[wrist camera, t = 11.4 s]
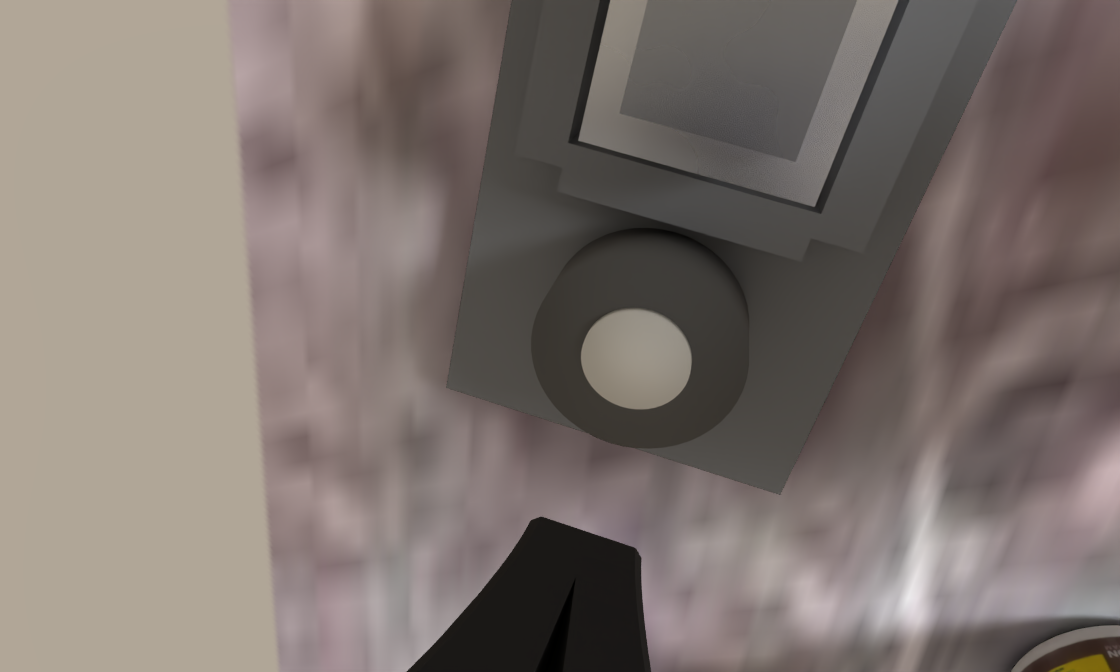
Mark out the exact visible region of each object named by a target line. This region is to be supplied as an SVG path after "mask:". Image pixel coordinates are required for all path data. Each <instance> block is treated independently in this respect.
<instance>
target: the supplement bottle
mask: <svg viewBox="0 0 1120 672" xmlns="http://www.w3.org/2000/svg"><path fill="white" fill-rule="evenodd" d="M1011 672H1120V625H1107V626H1095V627H1088V628H1082V629H1078V630H1074V631H1070V632H1067V633H1063V634H1060V635H1058V636H1055V637H1053V638H1051V639H1049V640H1047V641H1045V642H1043V643H1041V644H1039V645H1038V646H1036V647H1034V648H1033V649H1032V650H1031V651H1029V652H1028V653H1027V654H1026V655H1024V656H1023V657H1022V658H1021V659H1020V660H1019V661H1018V663H1017V664H1016V665H1015V666H1014V668H1013V669H1012V671H1011Z"/></svg>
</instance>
